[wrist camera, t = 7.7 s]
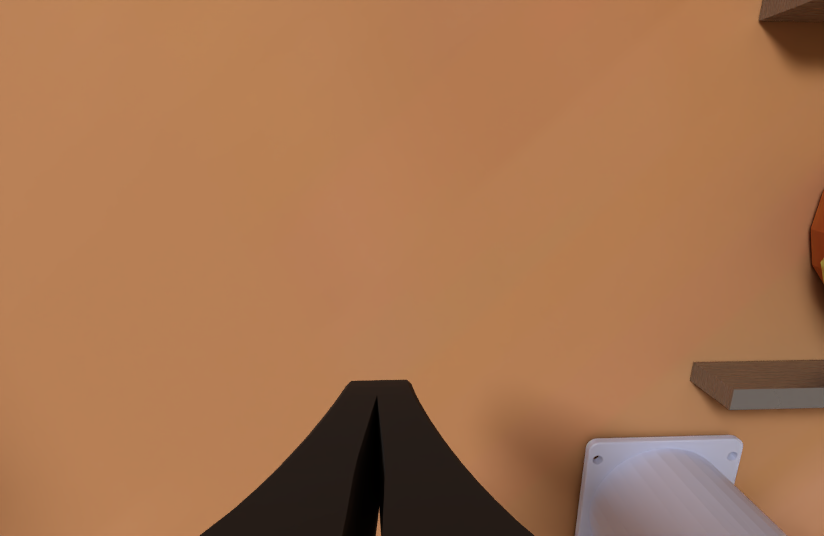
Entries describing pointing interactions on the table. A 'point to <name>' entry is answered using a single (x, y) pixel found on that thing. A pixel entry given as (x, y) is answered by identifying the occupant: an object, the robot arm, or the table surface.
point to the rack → (768, 379)
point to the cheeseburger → (818, 240)
